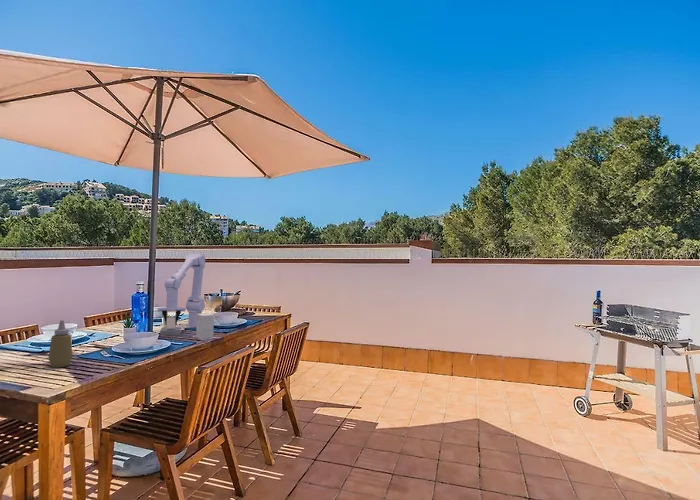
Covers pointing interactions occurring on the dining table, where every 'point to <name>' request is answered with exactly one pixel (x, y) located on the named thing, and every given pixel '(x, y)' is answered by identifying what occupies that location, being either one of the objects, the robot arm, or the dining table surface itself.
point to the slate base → (170, 331)
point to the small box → (205, 326)
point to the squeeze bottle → (60, 347)
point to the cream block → (171, 322)
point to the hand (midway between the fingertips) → (171, 324)
